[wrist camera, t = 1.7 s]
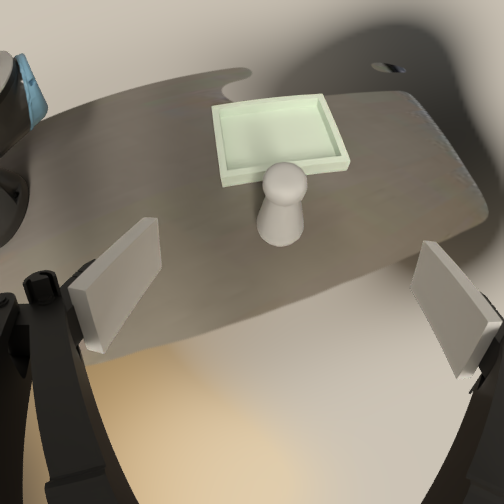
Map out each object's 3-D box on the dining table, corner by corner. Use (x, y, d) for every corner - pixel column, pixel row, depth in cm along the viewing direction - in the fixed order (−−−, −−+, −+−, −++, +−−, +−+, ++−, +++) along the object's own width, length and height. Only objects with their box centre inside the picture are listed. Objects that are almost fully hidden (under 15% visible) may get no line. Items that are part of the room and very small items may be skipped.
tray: (222, 187, 43) (220, 178, 40) (213, 116, 47) (211, 106, 45) (346, 170, 43) (350, 161, 41) (320, 103, 48) (322, 93, 45)
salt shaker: (289, 260, 39) (301, 215, 27) (249, 240, 40) (242, 188, 28) (308, 221, 41) (325, 165, 28) (269, 203, 42) (271, 143, 29)
